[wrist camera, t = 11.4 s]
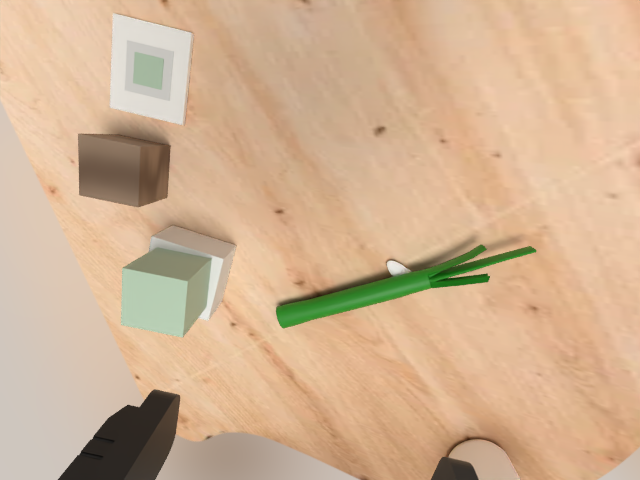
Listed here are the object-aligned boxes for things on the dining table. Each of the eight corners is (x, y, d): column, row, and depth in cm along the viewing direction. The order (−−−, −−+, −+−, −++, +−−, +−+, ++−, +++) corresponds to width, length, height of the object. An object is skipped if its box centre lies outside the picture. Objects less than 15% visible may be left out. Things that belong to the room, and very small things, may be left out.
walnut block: (118, 134, 37) (78, 133, 31) (170, 145, 37) (140, 146, 31) (117, 187, 39) (79, 195, 33) (167, 197, 39) (138, 207, 33)
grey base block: (173, 224, 40) (151, 236, 35) (237, 244, 40) (223, 259, 35) (162, 282, 42) (140, 300, 37) (222, 300, 42) (208, 320, 38)
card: (116, 15, 33) (111, 12, 33) (194, 34, 34) (190, 32, 33) (113, 107, 36) (108, 107, 35) (184, 125, 36) (181, 125, 35)
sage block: (157, 247, 35) (122, 267, 30) (211, 258, 35) (187, 281, 30) (154, 296, 37) (121, 324, 31) (206, 307, 37) (182, 337, 31)
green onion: (289, 321, 44) (527, 261, 38) (284, 336, 41) (542, 272, 35) (276, 290, 43) (519, 222, 37) (270, 302, 39) (535, 230, 34)
